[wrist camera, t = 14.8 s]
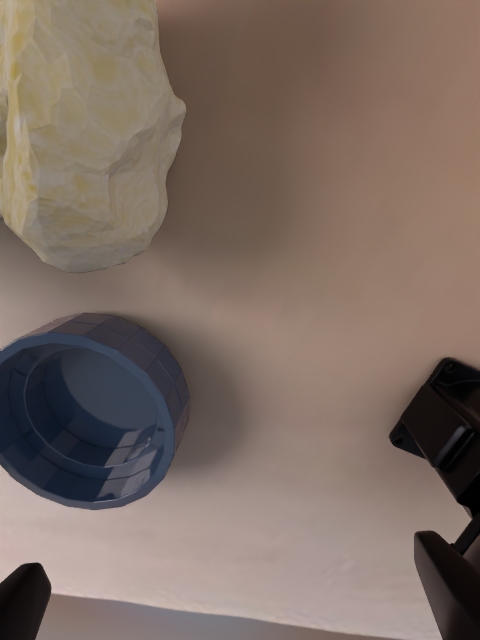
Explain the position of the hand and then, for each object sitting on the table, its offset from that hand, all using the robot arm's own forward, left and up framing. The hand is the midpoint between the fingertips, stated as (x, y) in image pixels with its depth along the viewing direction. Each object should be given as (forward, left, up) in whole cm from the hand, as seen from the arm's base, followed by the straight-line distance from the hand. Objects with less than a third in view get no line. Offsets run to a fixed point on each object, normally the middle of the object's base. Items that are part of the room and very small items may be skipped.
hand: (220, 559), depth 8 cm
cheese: (+12, -10, -13) cm, 21 cm away
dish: (+7, +7, -13) cm, 16 cm away
